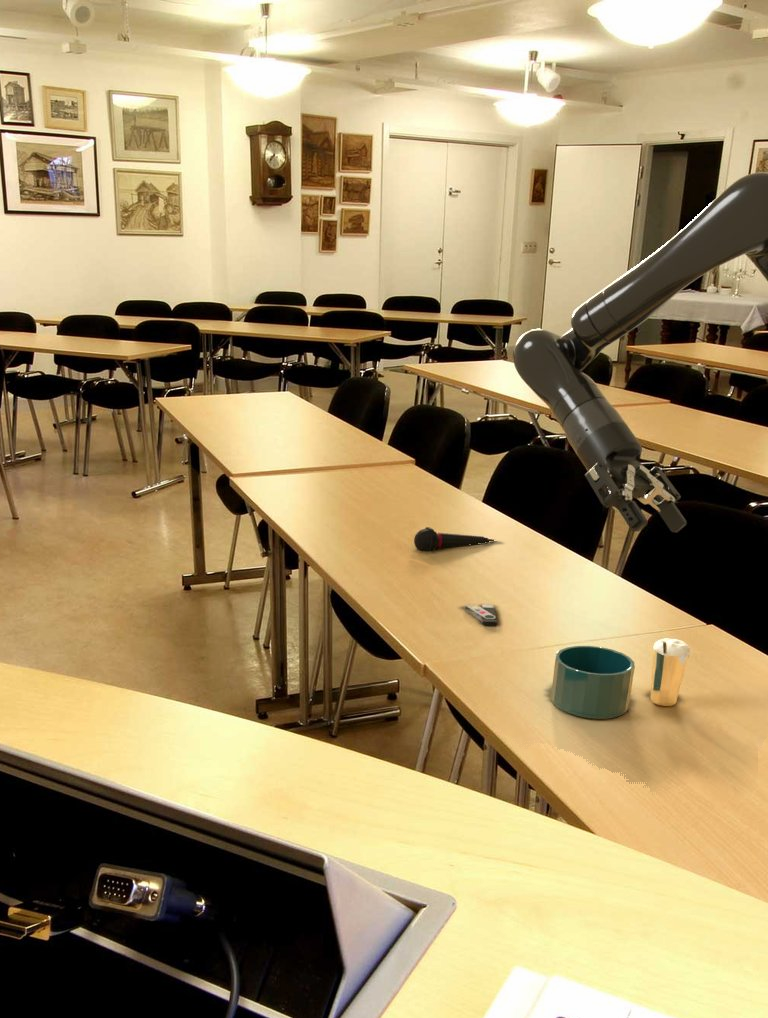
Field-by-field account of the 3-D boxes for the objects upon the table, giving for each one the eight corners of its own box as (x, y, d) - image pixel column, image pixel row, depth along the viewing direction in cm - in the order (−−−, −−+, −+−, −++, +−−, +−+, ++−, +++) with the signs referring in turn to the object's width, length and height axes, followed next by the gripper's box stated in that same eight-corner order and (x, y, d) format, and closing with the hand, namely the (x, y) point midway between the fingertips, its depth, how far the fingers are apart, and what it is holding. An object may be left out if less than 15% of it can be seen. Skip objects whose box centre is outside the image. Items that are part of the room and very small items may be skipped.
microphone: (492, 555, 202) (409, 554, 197) (492, 529, 202) (410, 527, 197) (505, 554, 197) (421, 553, 192) (506, 528, 196) (421, 526, 191)
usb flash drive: (496, 627, 155) (497, 621, 154) (465, 625, 156) (465, 620, 155) (494, 608, 162) (494, 603, 162) (464, 607, 163) (464, 602, 163)
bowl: (581, 680, 134) (586, 640, 132) (643, 705, 126) (650, 662, 124) (535, 698, 129) (540, 657, 127) (597, 725, 121) (603, 681, 119)
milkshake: (637, 703, 127) (647, 637, 123) (653, 690, 130) (664, 626, 126) (670, 713, 124) (681, 646, 120) (686, 700, 127) (697, 634, 123)
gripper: (586, 416, 122) (649, 509, 115) (651, 423, 130) (714, 511, 123) (549, 454, 128) (607, 545, 121) (614, 459, 135) (672, 545, 128)
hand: (661, 528), depth 122 cm, fingers open, 8 cm apart
